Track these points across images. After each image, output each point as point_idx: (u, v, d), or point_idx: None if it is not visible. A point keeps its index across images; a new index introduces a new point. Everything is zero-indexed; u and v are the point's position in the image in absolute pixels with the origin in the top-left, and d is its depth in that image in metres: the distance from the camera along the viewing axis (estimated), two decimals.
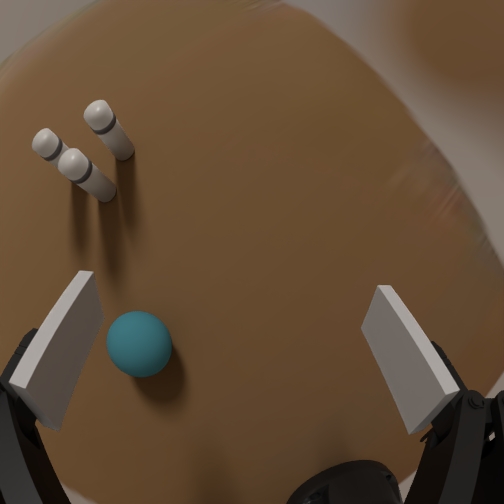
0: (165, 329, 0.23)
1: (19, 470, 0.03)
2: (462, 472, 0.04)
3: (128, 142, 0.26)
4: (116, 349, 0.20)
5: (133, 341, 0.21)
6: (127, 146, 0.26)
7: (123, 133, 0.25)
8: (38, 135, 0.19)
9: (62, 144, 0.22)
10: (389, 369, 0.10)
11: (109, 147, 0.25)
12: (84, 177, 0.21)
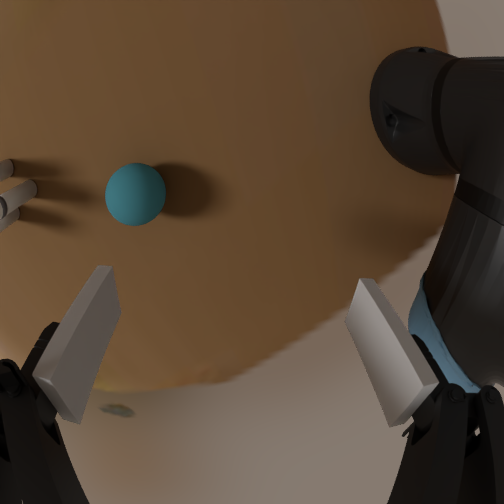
0: (128, 164, 0.24)
1: (38, 466, 0.04)
2: (446, 468, 0.04)
3: (0, 163, 0.23)
4: (123, 215, 0.23)
5: (118, 196, 0.23)
6: (2, 164, 0.23)
7: None
8: None
9: None
10: (371, 361, 0.11)
11: None
12: (3, 203, 0.20)
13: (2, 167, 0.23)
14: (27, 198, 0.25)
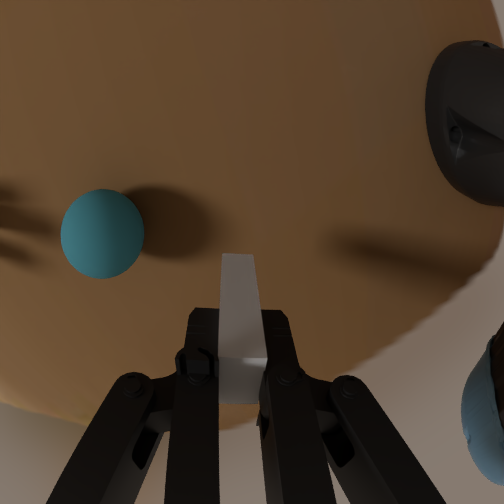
0: (89, 192, 0.16)
1: (205, 464, 0.05)
2: (302, 468, 0.05)
3: None
4: (82, 268, 0.15)
5: (73, 242, 0.15)
6: None
7: None
8: None
9: None
10: None
11: None
12: None
13: None
14: None
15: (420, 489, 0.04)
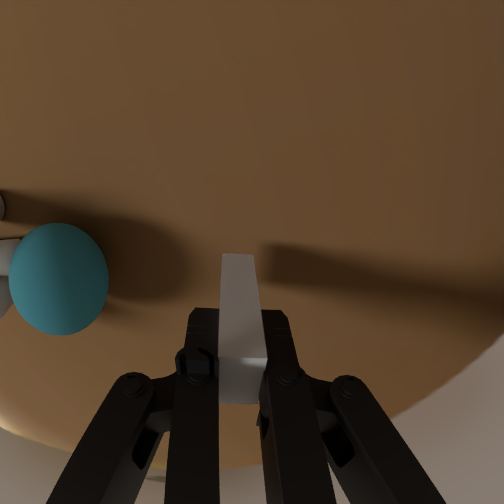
0: (47, 234, 0.11)
1: (205, 464, 0.05)
2: (302, 468, 0.05)
3: None
4: None
5: None
6: None
7: None
8: None
9: None
10: None
11: None
12: None
13: None
14: None
15: (420, 489, 0.04)
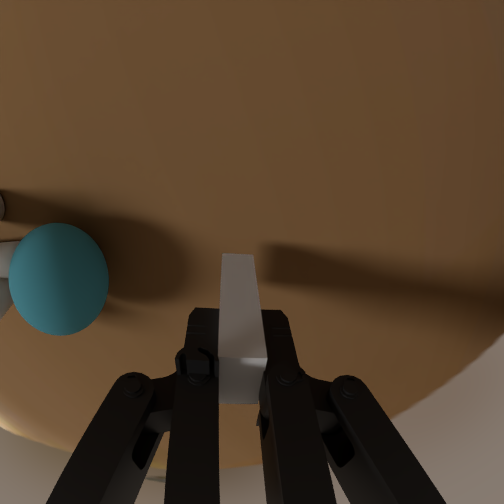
0: (47, 234, 0.11)
1: (205, 464, 0.05)
2: (302, 468, 0.05)
3: None
4: None
5: None
6: None
7: None
8: None
9: None
10: None
11: None
12: None
13: None
14: None
15: (420, 489, 0.04)
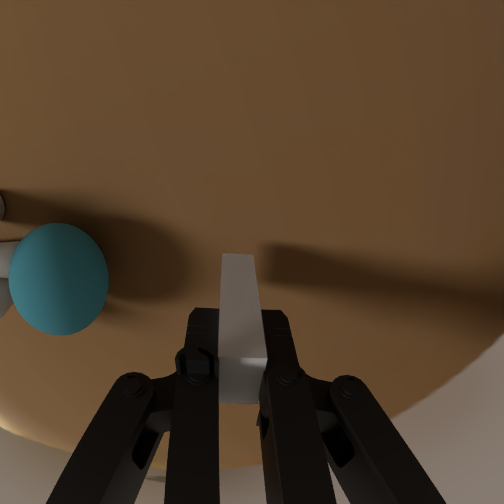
0: (47, 234, 0.11)
1: (205, 464, 0.05)
2: (302, 468, 0.05)
3: None
4: None
5: None
6: None
7: None
8: None
9: None
10: None
11: None
12: None
13: None
14: None
15: (420, 489, 0.04)
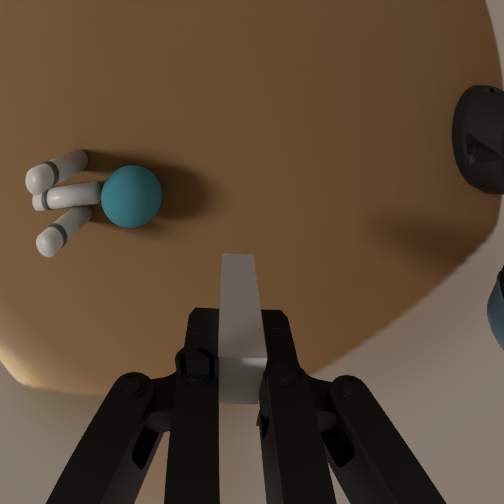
0: (133, 167, 0.23)
1: (205, 464, 0.05)
2: (302, 468, 0.05)
3: (73, 153, 0.23)
4: None
5: None
6: (76, 155, 0.24)
7: (63, 156, 0.22)
8: (41, 248, 0.21)
9: (55, 223, 0.22)
10: None
11: (72, 173, 0.23)
12: (43, 201, 0.25)
13: (77, 158, 0.24)
14: (78, 204, 0.26)
15: (420, 489, 0.04)
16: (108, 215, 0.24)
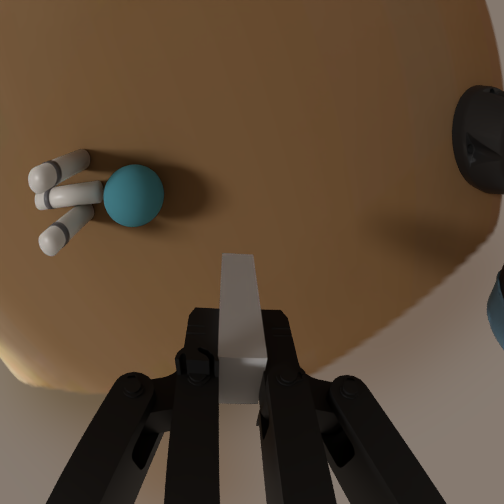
0: (135, 167, 0.24)
1: (205, 464, 0.05)
2: (302, 468, 0.05)
3: (75, 152, 0.24)
4: None
5: None
6: (79, 154, 0.24)
7: (66, 155, 0.22)
8: (43, 247, 0.21)
9: (57, 222, 0.23)
10: None
11: (74, 172, 0.23)
12: (45, 200, 0.25)
13: (80, 157, 0.24)
14: (81, 203, 0.26)
15: (420, 489, 0.04)
16: (110, 214, 0.24)
